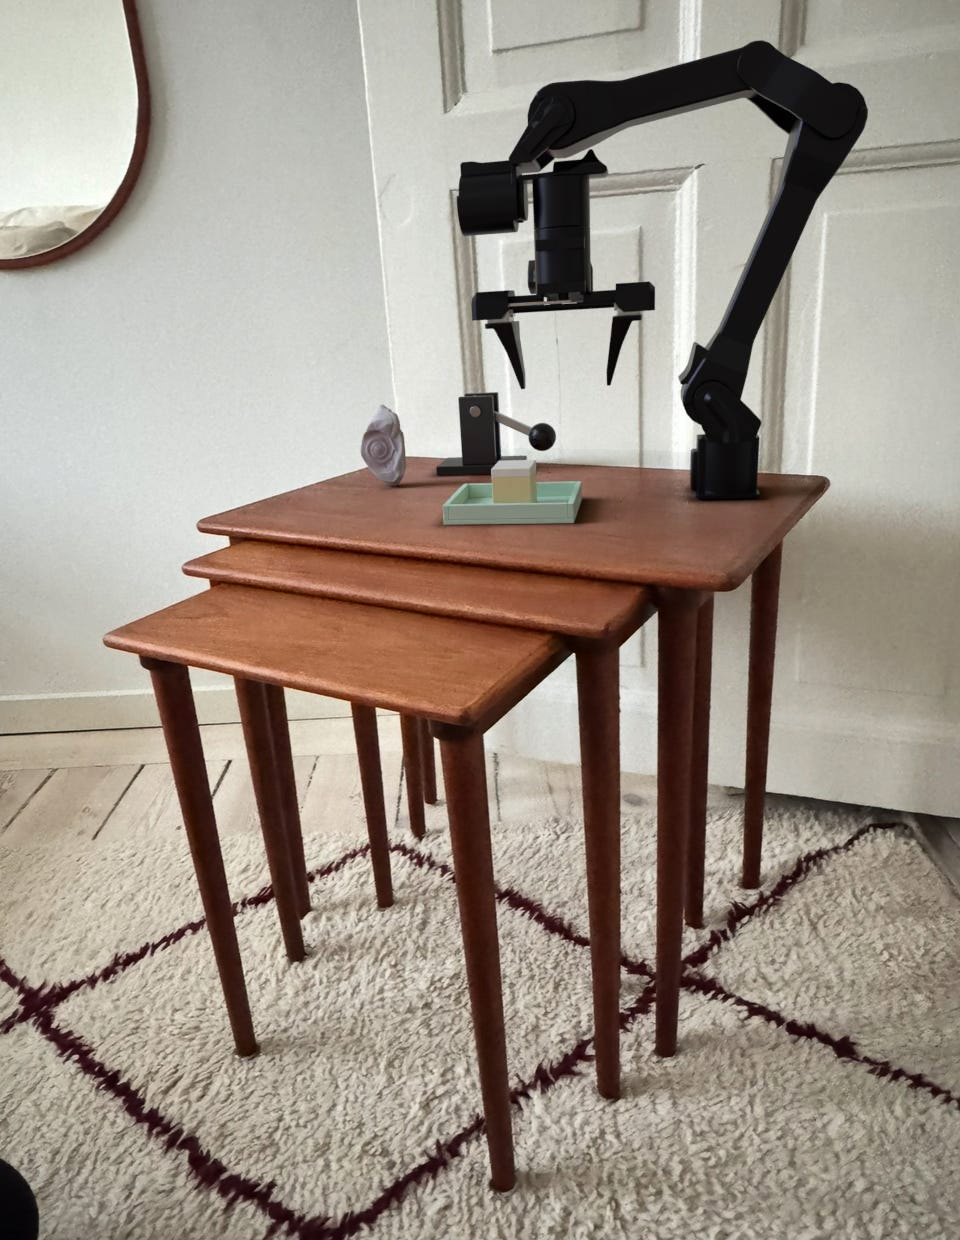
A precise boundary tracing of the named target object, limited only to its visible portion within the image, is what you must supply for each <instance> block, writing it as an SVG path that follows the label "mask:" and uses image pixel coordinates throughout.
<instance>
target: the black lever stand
mask: <svg viewBox="0 0 960 1240" xmlns="http://www.w3.org/2000/svg"><path fill="white" fill-rule="evenodd" d="M474 395H476V396H474ZM499 399H500V397H499V392H498V391H493V392H468V393H467V392H466V393H464V395H463V396H458V399H457V401H458V413H459V414H458V415H459V431H460V432H459V433H460V445H461V446H460V447H461V448H460V449H461V456H458V457H457V456H455V457H447V458H445V459H444V460H443V461H442V462H441V463H439V464H438V465H436V468H435V469H436V476H437V477H442V476H443V477H444V476H487V475H491V469H492V468H493V467H494V466H495V465H496V464H497V462H498V461H505V460H528V457H527V455H502V442H501V423H499V422H496V421H495V420H494V411H496V412H499V413H500V402H499V401H500V400H499ZM491 476H492V475H491Z"/></svg>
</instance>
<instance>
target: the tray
mask: <svg viewBox="0 0 960 1240" xmlns="http://www.w3.org/2000/svg"><path fill="white" fill-rule="evenodd" d="M582 500H583V482H582V480H579V481H577V480H576V481H575V480H574V481H537V502H536V503H497V504H493V494H492V482H481V483H479V482H478V483H475V482H473V483H463V484H462V485H461V486H460V487H459V488H458V489H457V490H456V491H455V492H454V493H453V494H452V495H451V497H449V498H448V499H447V500H446V501H445V502H444V503H443V505H442V515H443V517H442V519H443V525H446V526H449V525H451V526H454V525H455V526H456V525H457V526H458V525H459V526H460V525H464V526H465V525H531V524H532V525H535V524H536V525H538V524H539V525H540V524H541V525H542V524H547V525H549V524H574V523H575V521H576V518H577V515H578V512H579V509H580V506H581V503H582Z"/></svg>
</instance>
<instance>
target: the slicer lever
mask: <svg viewBox="0 0 960 1240" xmlns="http://www.w3.org/2000/svg"><path fill="white" fill-rule="evenodd" d="M474 396H476V395H474ZM494 420H495V421H496V422H499V423H500V425H503V426H506V427H507V428H510V429H512V430H515V431H516V432H519V433H521V434H523V435H526V436H527V437H528V438H527V439H528V442H529V445H530V446H531V447H532V449H534V450H536V451H539V452H545V451H546V452H547V451H549V450H550V449H552V447H554V445H555V443H556V441H557V433H556V430H555V428H554V427H553V426H552V425H551V424H548V423H546V422H539V423H536V424H534V425H533V426H529V425H527V424H525V423H524V422H521V421H518V420H517V419H514V418H512V417H509V416H507V415H505V414H504V413H501V412H500V411H499V412H496V411H494Z"/></svg>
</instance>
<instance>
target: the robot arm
mask: <svg viewBox="0 0 960 1240" xmlns="http://www.w3.org/2000/svg"><path fill="white" fill-rule="evenodd" d="M739 99H746V100H747V101H749V102H750V103H752V104H753V105H754V106H755V107H756V108H757V109H758V110H760V111H761V112H762V113H763V114H764V115H765V116H766V117H767V118H768V119H769V120H770V121H771V122H772V123H773V124H774V125H775V126H776V127H778V128H780V130H782V131H783V132H785V133H786V134H787V135H788V139H787V142H786V147H785V150H784V155H783V157H782V164H781V169H780V174H779V180H778V184H777V188H776V191H775V195H774V197H773V199H772V202H771V203H770V206H769V209H768V210H767V213H766V216H765V218H764V220H763V222H762V224H761V227H760V229H759V232H758V234H757V237H756V239H755V241H754V243H753V246H752V249H751V251H750V253H749V255H748V257H747V260H746V262H745V265H744V267H743V270H742V272H741V274H740V276H739V279H738V280H737V283H736V286H735V288H734V290H733V293H732V295H731V297H730V300H729V302H728V305H727V306H726V309H725V312H724V314H723V316H722V319H721V321H720V323H719V326H718V327H717V329H716V331H715V332H714V334H713V335H712V337H711V338H710V339H709V341H708V342H707V344H706V346H703V345H701V344H700V343H698V342H697V341H694V342H693V343H692V346H691V350H690V353H689V358H688V361H687V364H686V366H685V367H684V370H683V371H682V372H681V373H680V374H679V375H678V381H679V383H680V385H681V388H680V401H681V403H682V406H683V408H684V411H685V413H686V415H687V416H688V417H689V418H690V420H691V421H693V422H694V423H696V424H697V425H700V426H701V428H702V431H703V433H701V434H696V446H695V447H696V448H691V450H690V467H689V487H690V488H689V489H690V491H692V492H694V496H695V499H697V500H713V499H714V500H717V499H719V500H720V499H721V500H722V499H723V500H725V499H759V498H760V495H761V494H760V491H759V490H758V479H759V475H758V474H759V457H760V435H758V433H759V430H760V428H761V426H762V420H761V419H760V418H759V416H757V415H756V413H755V412H754V411H753V410H752V409H751V408H750V407H749V406H747V404H746V403H745V402H744V401H742V396H743V392H744V389H745V385H746V381H747V378H748V373H749V367H750V361H751V356H752V351H753V347H754V342H755V340H756V338H757V335H758V332H759V331H760V328H761V326H762V324H763V322H764V320H765V317H766V316H767V313H768V311H769V309H770V307H771V304H772V301H773V300H774V297H775V295H776V293H777V290H778V288H779V286H780V284H781V282H782V279H783V277H784V275H785V272H786V270H787V268H788V266H789V263H790V261H791V259H792V256H793V255H794V252H795V250H796V247H797V245H798V243H799V241H800V240H801V236H802V234H803V232H804V230H805V228H806V226H807V223H808V221H809V219H810V216H811V214H812V212H813V210H814V207H815V205H816V203H817V201H818V199H819V198H820V196H821V195H822V193H823V192H824V190H825V189H826V188H827V186H828V185H829V183H830V182H831V180H833V177H834V176H835V175H836V174H837V172H838V171H839V169H840V167H841V166H843V163H844V161H845V160H846V158H847V157H848V156H849V154H850V152H851V151H852V149H853V148H854V146H855V144H856V143H857V142H858V140H859V138H860V137H861V135H862V133H863V132H864V130H865V128H866V124H867V122H868V116H869V108H868V106H867V103H866V99H865V96H864V95H863V94H862V92H861V91H860V90H859V89H858V88H857V87H855V86H854V85H852V84H850V83H846V82H840V81H837V82H831V81H830V80H828V79H827V78H826V77H824V76H823V75H822V74H820V73H819V72H817V71H816V70H814V69H812V68H810V67H808V66H807V65H804V64H802V63H801V62H799V61H796V60H795V59H792V58H790V57H789V56H787V55H785V54H784V53H783V52H781V51H780V50H778V48H776V47H775V46H774V45H773V44H772V43H771V42H768V41H766V40H763V39H762V40H752V41H751V42H748V43H746V44H745V45H743V46H742V47H739V48H735V49H731V50H728V51H724V52H721V53H716V54H713V55H709V56H705V57H701V58H698V59H694V60H691V61H688V62H684V63H680V64H676V65H673V66H669V67H665V68H661V69H658V70H654V71H651V72H647V73H642V74H640V75H636V76H632V77H629V78H626V79H620V80H619V79H617V80H597V79H596V80H595V79H593V80H592V79H582V80H569V81H555V82H551V83H548V84H546V85H544V86H542V87H541V88H540V89H539V90H537V91H536V93H535V95H534V97H533V98H532V100H531V102H530V103H529V107H528V111H527V126H526V128H525V129H524V131H523V133H522V135H521V136H520V137H519V139H518V141H517V143H516V144H515V146H514V148H513V150H512V151H511V153H510V155H509V156H508V160H499V161H498V160H497V161H487V162H479V161H462V162H461V163H460V164H459V169H460V177H459V179H458V195H456V210H457V218H458V224H459V227H460V232H461V234H462V236H464V237H471V236H485V235H496V234H498V235H501V234H509V233H510V234H511V233H518V231H519V227H520V224H523V223H525V222H527V221H528V219H529V191H528V185H532V188H531V189H532V213H533V216H532V217H533V245H534V259H531V260H528V263H527V288H528V291H529V294H526V295H524V294H523V295H516V293H515V290H508V289H507V290H493V291H492V290H490V291H479V292H478V291H477V292H475V293H474V295H473V296H472V297H471V303H470V305H471V307H470V308H471V320H472V321H486V323H484V329H485V330H494V332H495V334H496V336H497V337H498V340H499V342H500V344H501V345H502V347H503V349H504V351H505V352H506V355H507V357H508V360H509V362H510V364H511V367H512V370H513V373H514V375H515V377H516V380H517V383H518V385H519V387H520V389H521V390H525V389H526V382H527V381H526V369H525V363H524V356H523V355H524V354H523V348H522V342H521V329H520V320H515V318H514V317H516V314H526V313H527V314H528V313H542V312H543V313H545V312H562V311H563V312H564V311H579V310H593V309H594V310H596V309H611V308H612V309H613V310H614V311H616V315H613V316H612V319H611V327H610V337H609V344H608V345H609V346H608V355H607V363H606V386H612V381H613V379H614V375H615V371H616V367H617V364H618V360H619V356H620V354H621V350H622V346H623V344H624V342H625V340H626V336H627V334H628V333H629V330H630V327H631V325H632V322H636V321H637V322H638V321H642V320H643V313H641V312H648V311H649V312H650V311H656V287H655V285H654V284H652V282H651V281H633V282H619V283H615V289H608V290H594V268H593V267H594V266H593V265H592V261H591V260H592V259H591V258H592V257H591V198H590V197H591V193H590V192H591V190H590V188H591V187H590V180H591V179H602V178H607V177H608V176H609V168H608V166H607V165H606V164H604V163H603V161H601V160H600V159H599V158H598V157H597V155H596V153H595V151H594V149H592V147H594V146H596V145H598V144H600V143H602V142H603V141H605V140H607V139H609V138H611V137H613V136H614V135H616V134H618V133H620V132H622V131H624V130H626V129H628V128H632V127H635V126H640V125H644V124H647V123H651V122H655V121H660V120H663V119H667V118H671V117H675V116H678V115H682V114H685V113H689V112H693V111H697V110H700V109H706V108H708V107H713V106H717V105H720V104H724V103H727V102H728V103H729V102H732V101H737V100H739ZM585 150H587V152H586V153H585V155H584V156H583V157H581V159H580V158H579V159H571V160H570V159H569V160H559V159H567V158H570V157H572V156H575V155H577V154H579V153H581V152H583V151H585ZM555 159H558V161H557V160H556V161H554V160H555ZM553 161H554V162H553ZM552 162H553V165H552V171H547V172H546V171H545V172H541V171H542V170H544V169H545V168H546V167H548V165H550V164H551V163H552ZM545 298H546V301H545Z"/></svg>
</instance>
